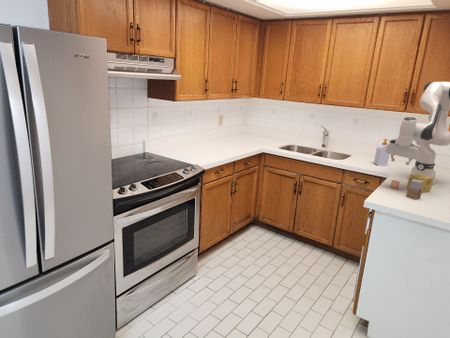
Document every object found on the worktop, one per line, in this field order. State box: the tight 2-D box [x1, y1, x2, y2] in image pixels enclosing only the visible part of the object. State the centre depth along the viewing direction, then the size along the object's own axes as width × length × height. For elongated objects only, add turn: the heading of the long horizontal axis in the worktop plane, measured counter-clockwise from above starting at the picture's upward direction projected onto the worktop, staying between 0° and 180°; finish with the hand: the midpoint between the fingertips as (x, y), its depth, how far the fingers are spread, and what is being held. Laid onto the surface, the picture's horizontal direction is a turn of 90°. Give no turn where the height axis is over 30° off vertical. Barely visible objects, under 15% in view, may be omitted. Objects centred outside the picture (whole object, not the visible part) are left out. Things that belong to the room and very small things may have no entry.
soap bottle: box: [373, 138, 390, 167], centre depth 277 cm, size 9×7×23 cm
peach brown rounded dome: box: [389, 179, 401, 191], centre depth 217 cm, size 5×5×5 cm
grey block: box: [409, 179, 423, 190], centre depth 200 cm, size 5×5×5 cm
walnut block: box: [405, 188, 422, 201], centre depth 201 cm, size 6×6×6 cm
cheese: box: [406, 174, 434, 194], centre depth 217 cm, size 10×11×10 cm
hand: (399, 163), depth 213 cm, fingers open, 8 cm apart
